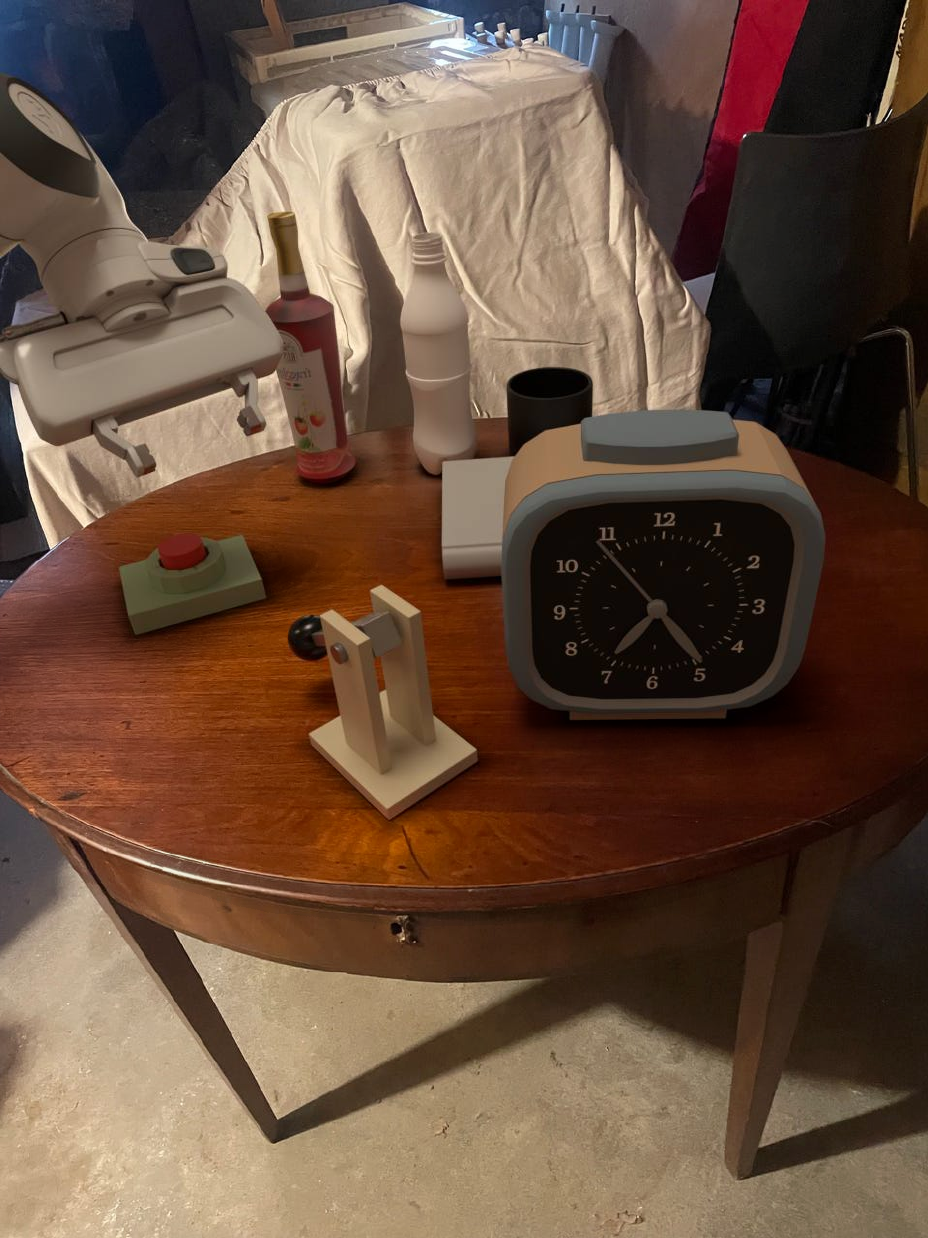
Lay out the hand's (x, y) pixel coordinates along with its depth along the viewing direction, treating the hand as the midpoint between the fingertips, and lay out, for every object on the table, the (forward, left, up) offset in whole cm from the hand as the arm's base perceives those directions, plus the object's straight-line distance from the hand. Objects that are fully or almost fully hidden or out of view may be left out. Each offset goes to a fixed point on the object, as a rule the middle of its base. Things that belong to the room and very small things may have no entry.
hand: (204, 450), depth 68 cm
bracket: (+6, -21, -17) cm, 28 cm away
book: (+32, +1, -17) cm, 37 cm away
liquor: (+14, +25, -17) cm, 34 cm away
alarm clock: (+26, -23, -17) cm, 39 cm away
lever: (+5, -17, -11) cm, 21 cm away
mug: (+38, +17, -17) cm, 45 cm away
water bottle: (+27, +20, -17) cm, 38 cm away
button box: (-4, +8, -17) cm, 20 cm away
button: (-4, +8, -14) cm, 16 cm away
